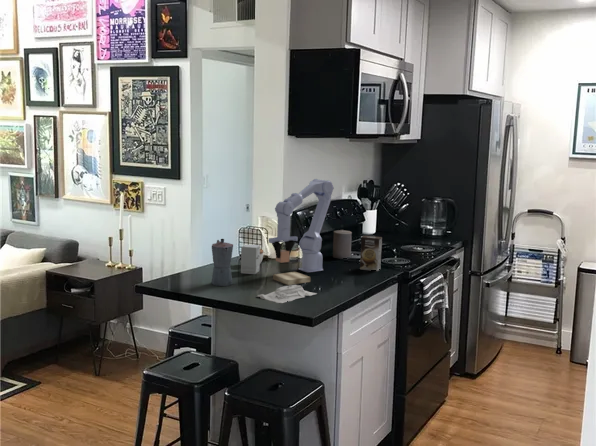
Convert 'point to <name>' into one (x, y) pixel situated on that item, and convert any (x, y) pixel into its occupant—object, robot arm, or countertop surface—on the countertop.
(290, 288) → the terrain model
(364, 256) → the coffee box
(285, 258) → the block
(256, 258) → the supplement box
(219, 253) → the moka pot
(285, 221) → the robot arm
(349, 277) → the countertop surface
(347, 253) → the pillar candle
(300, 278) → the base
